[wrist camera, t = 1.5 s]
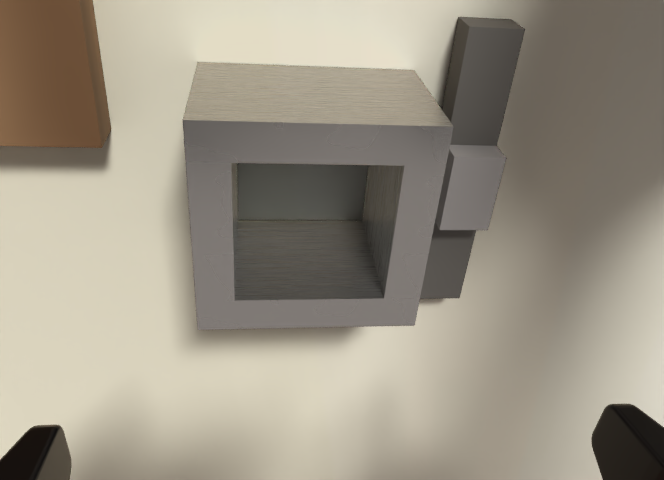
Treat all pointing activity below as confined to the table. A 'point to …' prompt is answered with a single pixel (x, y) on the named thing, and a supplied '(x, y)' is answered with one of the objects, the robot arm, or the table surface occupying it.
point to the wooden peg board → (51, 75)
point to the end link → (312, 235)
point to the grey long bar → (471, 146)
